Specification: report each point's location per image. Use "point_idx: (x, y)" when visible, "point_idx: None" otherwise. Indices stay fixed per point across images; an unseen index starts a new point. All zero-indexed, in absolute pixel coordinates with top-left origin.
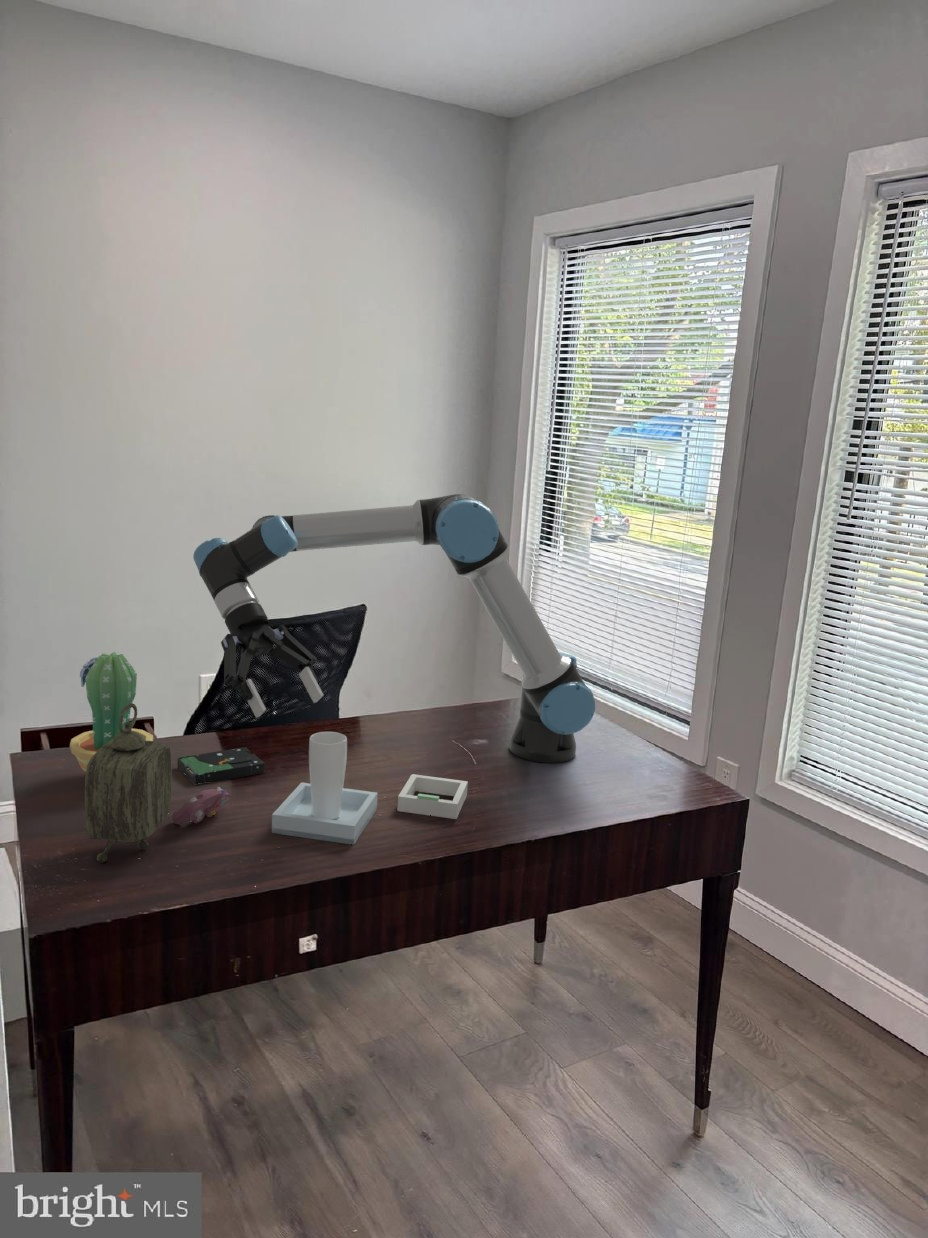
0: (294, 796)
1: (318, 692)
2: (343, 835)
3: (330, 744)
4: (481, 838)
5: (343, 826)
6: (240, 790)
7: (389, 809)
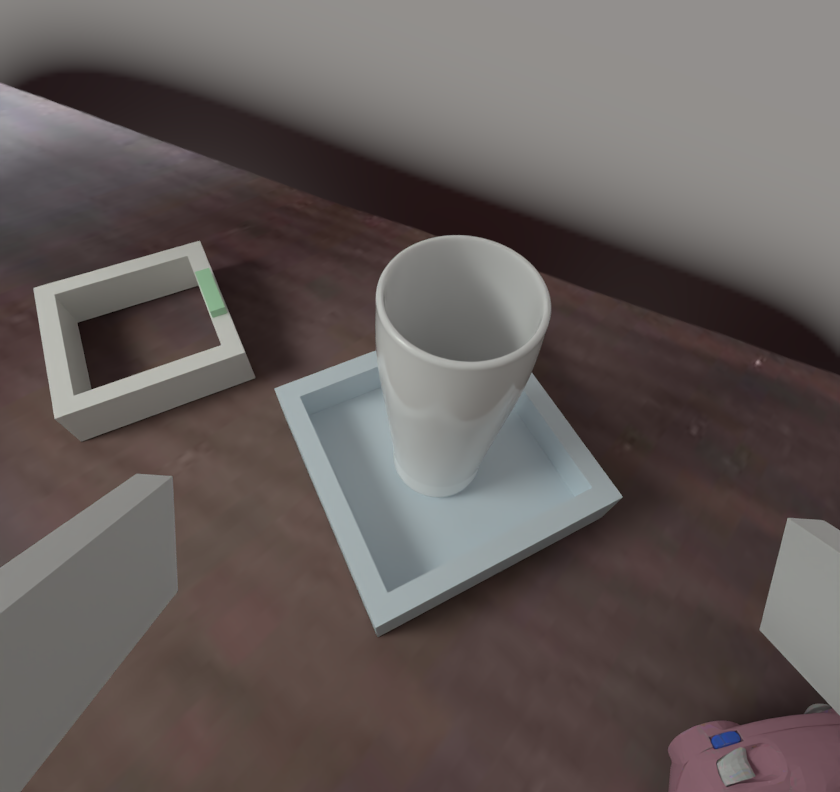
0: (483, 547)
1: (150, 500)
2: None
3: (511, 249)
4: (266, 205)
5: None
6: None
7: (258, 397)
